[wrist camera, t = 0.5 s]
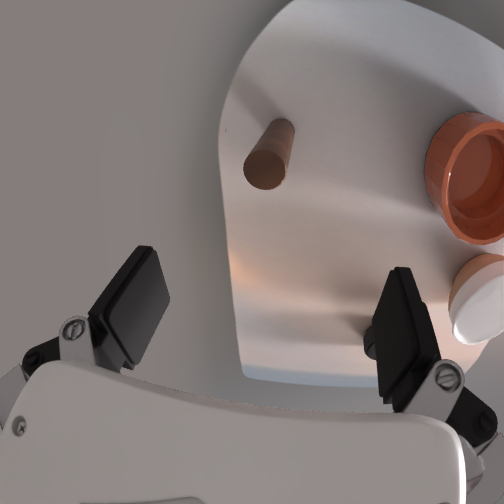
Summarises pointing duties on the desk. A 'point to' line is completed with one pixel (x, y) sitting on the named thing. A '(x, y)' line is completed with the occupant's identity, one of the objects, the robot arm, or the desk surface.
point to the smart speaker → (369, 344)
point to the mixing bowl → (468, 176)
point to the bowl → (478, 300)
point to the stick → (270, 156)
